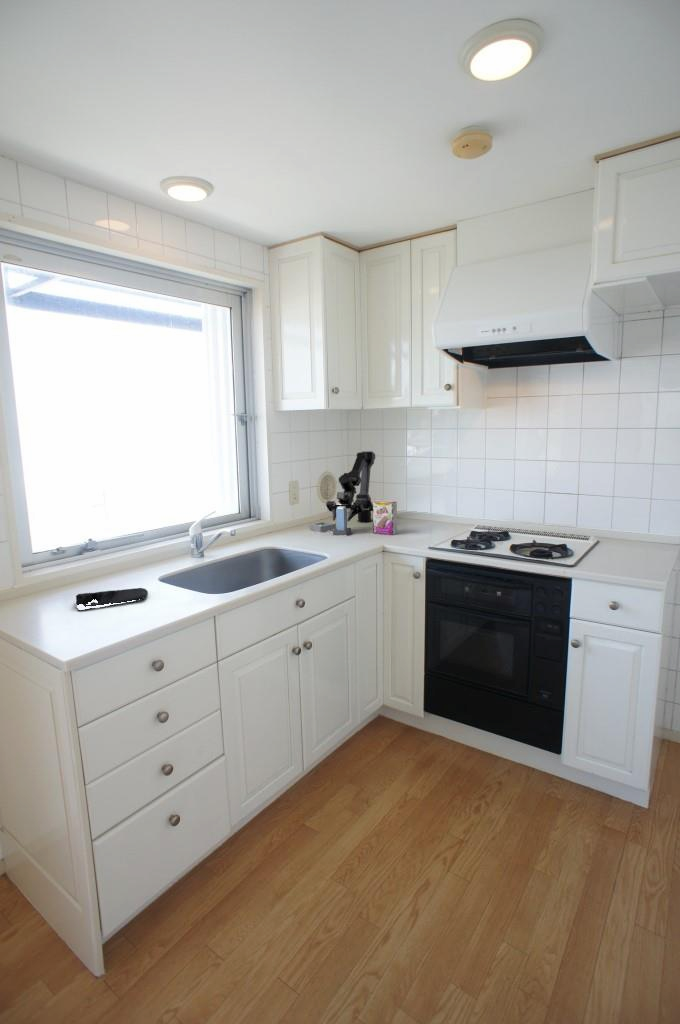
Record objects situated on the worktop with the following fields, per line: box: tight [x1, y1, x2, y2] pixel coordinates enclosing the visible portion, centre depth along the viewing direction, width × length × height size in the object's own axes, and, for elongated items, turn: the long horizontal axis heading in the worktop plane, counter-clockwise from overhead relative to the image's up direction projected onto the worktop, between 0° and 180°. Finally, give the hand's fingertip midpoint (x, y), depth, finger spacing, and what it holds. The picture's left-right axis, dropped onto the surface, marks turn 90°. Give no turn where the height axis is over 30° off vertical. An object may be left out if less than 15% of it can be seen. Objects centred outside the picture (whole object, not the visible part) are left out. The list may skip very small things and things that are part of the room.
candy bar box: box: [372, 499, 398, 536], centre depth 264 cm, size 11×5×16 cm, turn 58°
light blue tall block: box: [335, 506, 348, 530], centre depth 267 cm, size 4×4×14 cm
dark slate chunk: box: [75, 587, 149, 607], centre depth 178 cm, size 15×22×5 cm
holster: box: [332, 527, 352, 536], centre depth 268 cm, size 7×7×2 cm
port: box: [308, 520, 337, 533], centre depth 280 cm, size 10×10×4 cm
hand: (340, 520), depth 265 cm, fingers open, 7 cm apart
